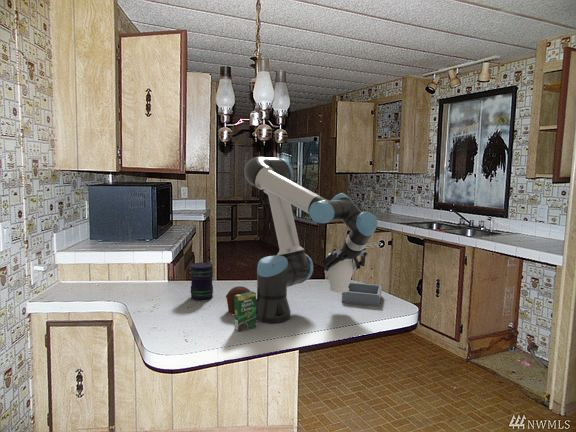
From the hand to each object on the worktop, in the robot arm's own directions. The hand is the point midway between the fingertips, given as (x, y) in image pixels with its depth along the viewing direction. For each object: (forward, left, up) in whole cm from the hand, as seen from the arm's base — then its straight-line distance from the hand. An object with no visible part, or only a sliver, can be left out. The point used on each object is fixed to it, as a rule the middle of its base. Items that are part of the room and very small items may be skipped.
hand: (338, 273), depth 173 cm
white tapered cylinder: (+1, -2, -7) cm, 7 cm away
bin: (+9, +16, -15) cm, 24 cm away
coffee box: (-28, -34, -15) cm, 47 cm away
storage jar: (-60, -7, -15) cm, 62 cm away
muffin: (-37, -18, -15) cm, 44 cm away
